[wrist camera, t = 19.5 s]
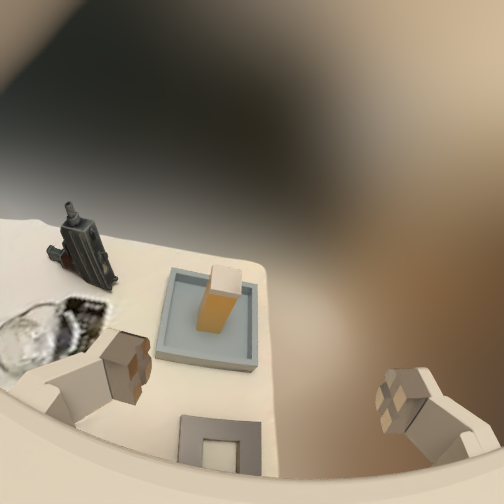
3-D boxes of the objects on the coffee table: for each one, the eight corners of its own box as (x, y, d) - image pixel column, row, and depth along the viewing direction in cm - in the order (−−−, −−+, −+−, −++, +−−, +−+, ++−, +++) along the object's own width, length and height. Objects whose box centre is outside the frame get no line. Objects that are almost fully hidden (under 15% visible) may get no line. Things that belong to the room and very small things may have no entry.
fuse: (195, 330, 49) (210, 288, 39) (197, 309, 51) (213, 264, 42) (219, 334, 49) (241, 294, 40) (221, 313, 52) (242, 269, 43)
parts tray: (155, 358, 44) (155, 350, 42) (169, 278, 55) (171, 267, 52) (251, 372, 48) (258, 365, 45) (251, 294, 58) (257, 284, 56)
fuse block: (176, 489, 31) (177, 490, 30) (180, 416, 39) (182, 414, 38) (257, 492, 34) (261, 493, 32) (257, 423, 42) (261, 421, 40)
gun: (31, 192, 39) (91, 201, 37) (61, 261, 51) (119, 279, 49) (21, 201, 37) (80, 212, 36) (54, 270, 49) (112, 290, 47)
